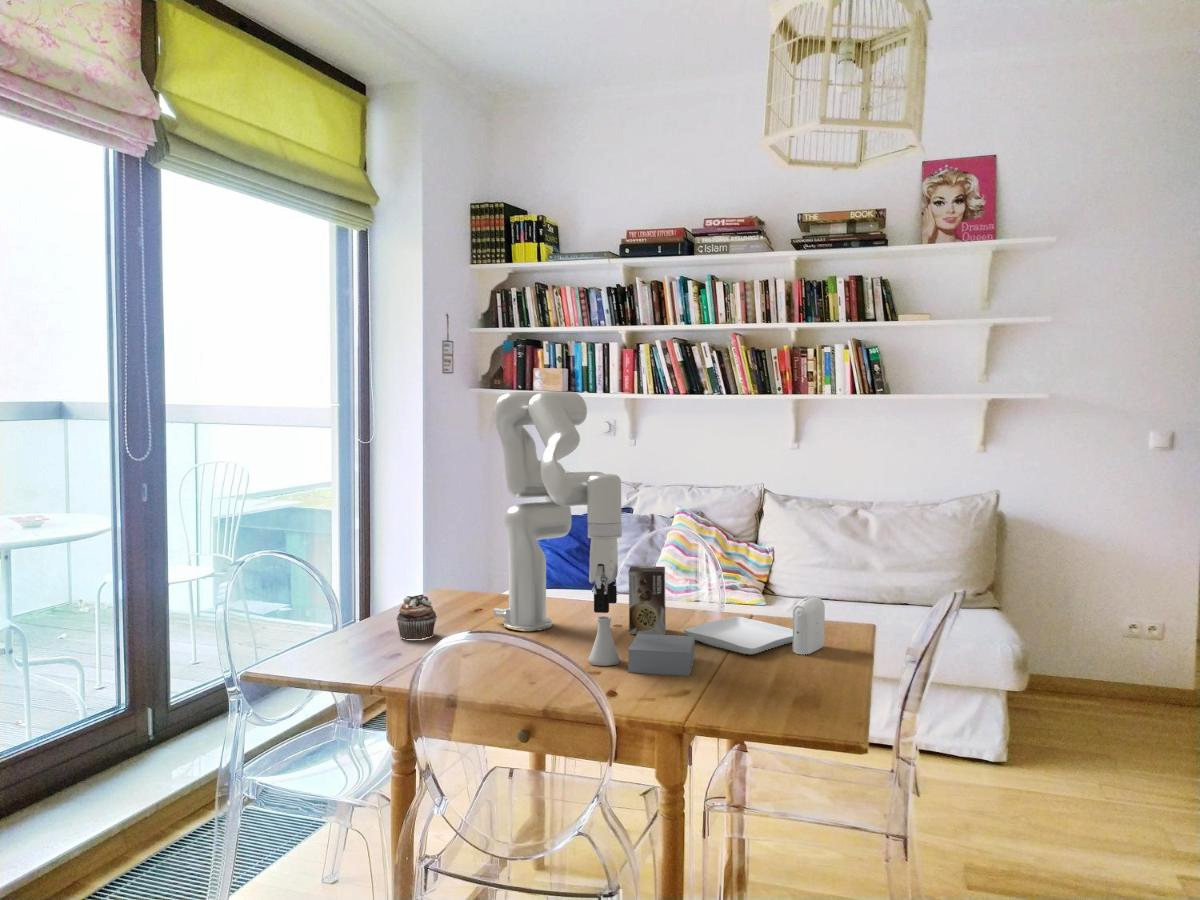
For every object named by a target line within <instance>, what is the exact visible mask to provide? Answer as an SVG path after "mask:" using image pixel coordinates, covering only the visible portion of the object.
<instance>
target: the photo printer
mask: <svg viewBox="0 0 1200 900" xmlns="http://www.w3.org/2000/svg"><path fill="white" fill-rule="evenodd" d="M825 610H826V607H825V602H824V601H823V600H822V599H821V598H820V597H816V596H807V597H804V598H803V599H801V600H800V601H798V602H797V603H796V604H795V606H794V608H793V610H792V629H793V642H792V652H793V653H794V652H795V653H797V654H806V655H805V656H808V655H810V654H812V653H815V652H817V651H819V650H820V649H822V648H823V647H824V646H825V625H826V624H825V619H826V618H825V617H826V616H825V615H826V614H825ZM795 653H794V654H795ZM797 654H796V655H797ZM807 654H808V655H807Z"/></svg>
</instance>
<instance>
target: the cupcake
mask: <svg viewBox="0 0 1200 900" xmlns="http://www.w3.org/2000/svg"><path fill="white" fill-rule="evenodd" d="M398 612H399V613H398V614H397V617H396V623H397V627H398V631H399V637H400V638H401V637H402V638H405V639H422V638H426V637H430V636H432V635H433V636H434V632H435V631H434V630H435V625H436V622H437V613H436V611H435V610H434V609H433V605H432V600H431V599H429V597H428V596H424V594H419V595H414V596H410V595H409V596H408V595H407V596H406V597H403V604H402V605H401V606H400V608H399V610H398Z"/></svg>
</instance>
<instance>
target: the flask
mask: <svg viewBox="0 0 1200 900" xmlns="http://www.w3.org/2000/svg"><path fill="white" fill-rule="evenodd" d="M596 621H597V624H598V625H597V631H596V637H595V640H594V642H593V646H592V648H591V651H590V654H589V657H588V660H587V662H588V663H589V664H591V665H592V666H603V667H607V666H615V665H616V666H617V665H618V664H619V663H620V662H621V659H620V655H619V653H618V650H617V648H616V645H615V642H614V638H613V636H612V630H611V621H612V617H611V616H608V615H607V616H606V615H605V616H597V618H596Z"/></svg>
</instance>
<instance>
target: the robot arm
mask: <svg viewBox="0 0 1200 900" xmlns="http://www.w3.org/2000/svg"><path fill="white" fill-rule="evenodd" d="M587 414H588V408H587V403H586V402H585V399H584V398H583V397H582V395H580V394H579V393H577V392H575V391H512V392H507V393H504V394H502V395H501V396H500V397H498V399H497V400H496V403H495V406H494V422H495V423H494V424H495V427H496V431H497V434H498V436H499V440H500V442H501V445H502V451H503V452H502V453H503V463H504V472H505V480H506V488H507V492H508V493H509V495H510V496H512V497H513V498H517V499H530V498H545V501H541V502H538V501H537V502H524V503H518V504H515V505H512V506H510V507H509V508H508V509H507V511H506V512H505V515H504V528H505V534H506V540H507V550H508V607H506V608H497V607H495V608H494V609H493V616H495V617H496V618H504V620H503V621H502V625H503V624H504V625H505V626H508V627H512V628H517V629H524V630H538V629H544V630H546V628H547V629H549V628H551V627H552V626H553V620H552V619H551V618H549V617H547V561H546V560H547V558H546V554H545V553H544V550H543V549H542V548H541V546H540V545H539V543H538V541H540V540H548V539H559V538H564V537H566V536H567V535H568V534H569V533H570V530H571V528H572V511H571V510H572V508H571V507H574V506H575V507H576V506H577V507H578V506H586V507H587V509H586V510H587V513H586V514H587V521H586V522H587V538H588V539H590V546H589V547H590V548H589V573H588V576H589V577H588V579H589V583H590V584H592V585H593V584H594V586H593V587H594V588H593V611H594V613H598V614H600V613H601V614H608V613H609V612H610V604H617V602H618V600H617V597H618V593H617V592H618V591H617V579H616V578H617V577H618V571H619V570H618V569H619V560H618V559H619V557H618V555H619V553H618V551H619V550H618V539H620V538H622V537H623V536H622V535H623V534H622V532H623V529H622V528H623V527H622V480H621V477H620V476H619V475H617V474H614V473H613V474H611V473H604V472H601V471H575V472H566V470H565V468H564V467H563V465H562V464H561V463H560V462H559V460H561V459H563V458H565V457H566V456H569V455H570V454H571V453H573V452H574V451H575V450H576V449H577V448H578V447H579V445H580V442H581V437H580V433H579V431H578V429H577V428H576V427H577V426H580V425H582V424H583V423H584V422H585V420H586V418H587ZM524 426H534V427H535V428H536V431H537V433H538V435H539V436H540V439H541V441H542V443H543V445H544V447H545V450H544V451H543V454H542V457H541V460H540V459H539V458H538V455H537V445H536V441H535V439H534V438H533V437H532V435H531V434H530V433H529V431H528V430H526V428H525V427H524ZM538 631H539V630H538Z"/></svg>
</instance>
